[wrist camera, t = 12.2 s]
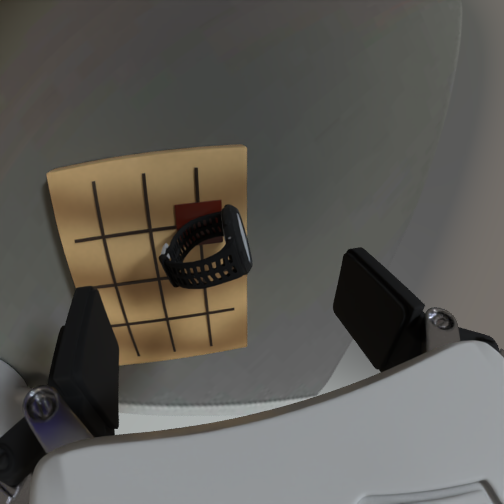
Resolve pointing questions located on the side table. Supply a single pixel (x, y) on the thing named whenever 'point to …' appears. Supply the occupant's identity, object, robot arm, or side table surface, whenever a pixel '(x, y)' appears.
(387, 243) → the side table surface
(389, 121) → the side table surface
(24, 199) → the side table surface
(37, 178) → the side table surface
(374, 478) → the robot arm
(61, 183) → the board
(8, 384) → the mug
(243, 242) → the smartwatch
